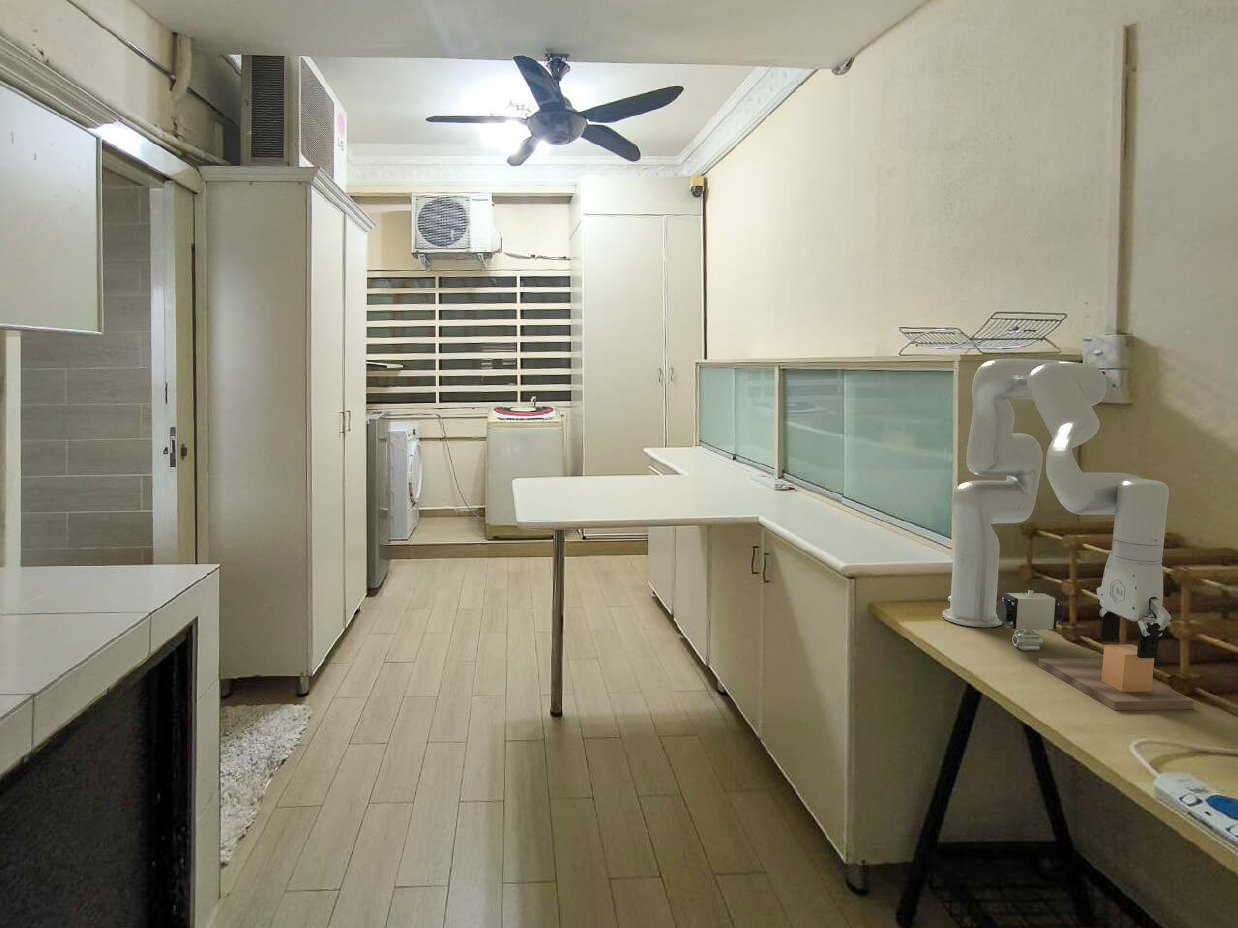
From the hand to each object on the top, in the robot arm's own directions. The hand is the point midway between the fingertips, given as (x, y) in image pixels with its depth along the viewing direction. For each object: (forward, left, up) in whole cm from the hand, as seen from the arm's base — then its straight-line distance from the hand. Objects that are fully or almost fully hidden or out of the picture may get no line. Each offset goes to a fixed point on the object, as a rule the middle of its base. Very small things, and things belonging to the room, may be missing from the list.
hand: (1127, 647), depth 152 cm
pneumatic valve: (-25, -3, -8) cm, 27 cm away
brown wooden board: (-3, 0, -8) cm, 9 cm away
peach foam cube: (0, 0, -7) cm, 7 cm away
